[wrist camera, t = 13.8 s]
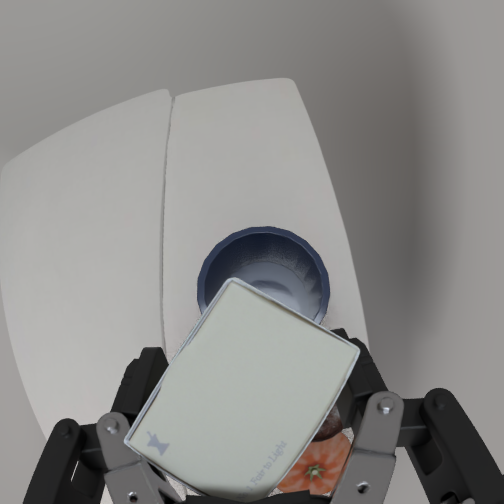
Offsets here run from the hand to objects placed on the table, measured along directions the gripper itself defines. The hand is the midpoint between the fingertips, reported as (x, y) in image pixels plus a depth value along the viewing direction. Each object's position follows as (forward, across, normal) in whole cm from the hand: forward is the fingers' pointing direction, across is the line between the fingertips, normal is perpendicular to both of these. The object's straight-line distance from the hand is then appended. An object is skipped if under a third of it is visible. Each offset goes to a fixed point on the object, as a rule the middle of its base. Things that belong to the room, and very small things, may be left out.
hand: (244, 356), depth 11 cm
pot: (+23, +2, -13) cm, 26 cm away
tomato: (+7, +5, -29) cm, 30 cm away
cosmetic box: (+4, 0, -6) cm, 8 cm away
